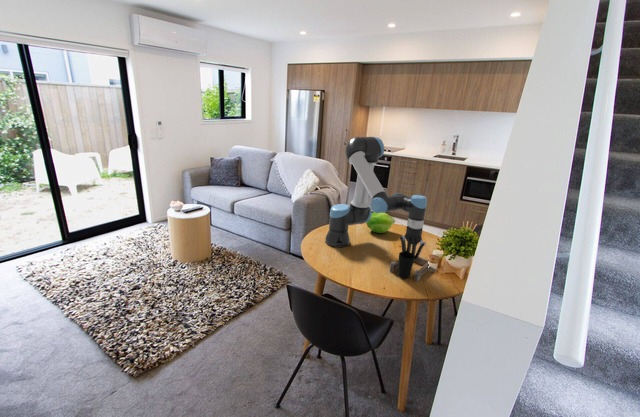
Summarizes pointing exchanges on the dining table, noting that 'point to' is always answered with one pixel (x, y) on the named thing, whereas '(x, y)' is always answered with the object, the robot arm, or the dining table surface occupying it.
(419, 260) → the grey u-shaped frame
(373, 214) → the lettuce
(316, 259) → the dining table surface
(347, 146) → the robot arm
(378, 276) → the dining table surface
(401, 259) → the cup
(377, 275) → the dining table surface
